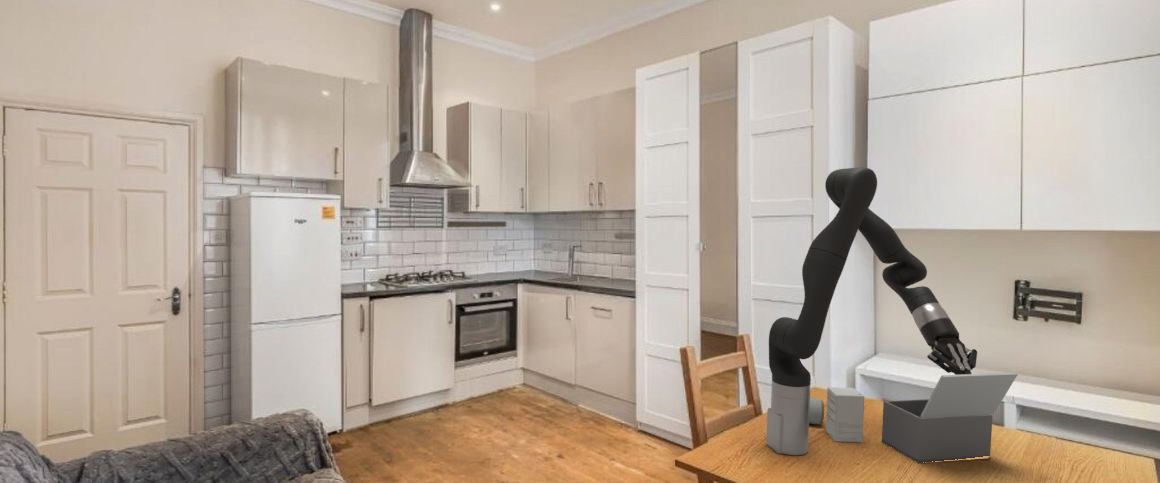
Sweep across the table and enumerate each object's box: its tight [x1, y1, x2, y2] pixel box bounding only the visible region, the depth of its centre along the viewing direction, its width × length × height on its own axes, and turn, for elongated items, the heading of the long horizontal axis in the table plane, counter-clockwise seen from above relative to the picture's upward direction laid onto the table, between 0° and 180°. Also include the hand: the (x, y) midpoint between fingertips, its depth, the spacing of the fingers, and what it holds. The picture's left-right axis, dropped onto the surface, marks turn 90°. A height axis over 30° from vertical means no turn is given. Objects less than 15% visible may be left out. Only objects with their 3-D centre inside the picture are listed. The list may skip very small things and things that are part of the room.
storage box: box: [881, 398, 993, 464], centre depth 145 cm, size 20×13×11 cm, turn 100°
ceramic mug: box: [809, 396, 825, 425], centre depth 165 cm, size 11×8×8 cm
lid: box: [921, 372, 1018, 418], centre depth 136 cm, size 20×13×1 cm
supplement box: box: [825, 386, 865, 443], centre depth 153 cm, size 7×7×13 cm
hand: (971, 387), depth 135 cm, fingers closed
